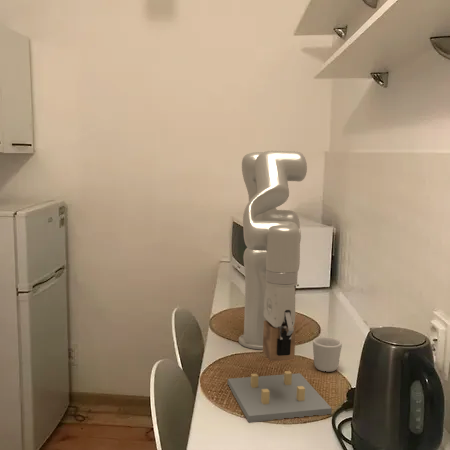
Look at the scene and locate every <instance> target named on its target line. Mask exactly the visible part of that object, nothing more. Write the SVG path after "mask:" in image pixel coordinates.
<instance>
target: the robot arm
mask: <svg viewBox="0 0 450 450" xmlns="http://www.w3.org/2000/svg"><path fill="white" fill-rule="evenodd" d="M241 159H242V161H241V173H242V178H243V181H244V185H245V189H246V190H247V195H248V203H247V204H246V206H245V207H244V212H243V216H242V227H243V231H242V232H243V240H244V244H245V246H246V248H245V250H244V251H243V255H242V258H243V259H242V260H243V266H244V267H243V269H244V278H245V279H244V283H245V287H244V288H245V289H244V290H245V291H244V315H243V316H244V321H243V334H241V335H240V336H239V337H238V343H239V344H240V345H241V346H243V347H245V348H249V349H253V350H263V330H264V321H268V322H269V323H270V324H271V325H272V326H274V327H275V328H279V329H278V333H279V339H277V355H278V356H283V355H290V348H291V335H292V332H293V331H294V328H293V326H295V321H296V294H295V292H296V291H295V285H296V286H297V285H298V274H299V273H298V272H299V269H300V265H301V261H300V260H301V259H300V258H301V240H302V230H301V223H300V218H299V216H298V213H296V212H295V211H293V210H287V209H286V210H285V209H277V208H278V207H280V206H282V205H283V204H285V203H287V201H288V199H289V197H290V189H289V188H290V187H289V182H302V181H304V180H305V178H306V176H307V172H308V165H307V160H306V156H305V155H304V154H303V153H302V152H300V151H295V150H293V151H292V150H291V151H290V150H287V151H286V150H267V151H260V152H259V151H257V152H256V151H255V152H249V153H246V154H245V155H244V156H243V157H242V158H241ZM282 324H286V326H281V325H282ZM282 329H286V330H285V331H283V333H282Z"/></svg>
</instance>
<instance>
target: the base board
mask: <svg viewBox="0 0 450 450" xmlns="http://www.w3.org/2000/svg"><path fill="white" fill-rule="evenodd" d="M228 385H229V386H228ZM227 386H228V387H230V388H229V389H231V390H230V392H231V393H232V394H233V397H234V399H235V398H236V399H235V401H236V402H237V404H238V405H239V407H240V410H241V411H242V413H243V415H244V416H245V418H246V420H247V422H248V423H256V422H266V421H267V422H268V421H274V420H273V419H278V420H285V419H284V418H289V419H295V418H294V417H299V418H305V417H304V416H309V417H314V416H313V415H319V416H327V414H330V415H332V412H333V411H332V410H333V408H332V407H331V406H330V405H329V403H328V402H327V401H326V400H325V399H324V398H323V397H322V395H320V394H319V392H318V391H317V390H316V389H315V387H313V386H312V385H311V384H310V383H309V382H308V380H307V379H306V377H304V376H303V374H302V373H300V372H298V373H293V372H291V371H290V370H287V371H284V373H283V374H274V375H270V374H269V375H261V376H259V375H258V373H251V374H250V376H246V377H232V378H227Z"/></svg>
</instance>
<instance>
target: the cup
mask: <svg viewBox="0 0 450 450" xmlns="http://www.w3.org/2000/svg"><path fill="white" fill-rule="evenodd" d="M342 345H343V343H342V341H341V340H339V338H335V337H331V336H318V337H317V336H316V338H314V339H313V340H312V350H313V364H314V367H315V369H317V370H318V371H322V372H325V371H326V372H328V373H329V372H331V373H332V372H334V371H336V370H337V369H338V367H339V363H340V358H341V351H342Z"/></svg>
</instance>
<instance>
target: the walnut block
mask: <svg viewBox="0 0 450 450" xmlns="http://www.w3.org/2000/svg"><path fill="white" fill-rule="evenodd" d="M281 326H286V324H282V325H281ZM293 328H294V331H293V332H292V335H291V348H290V355H283V356H278V355H277V339H279V333H278V329H279V328H275V327H274V326H272V325H271V324H270V323H269V322H268V321H264V330H263V349H262V353H263V354H264V355H265V357H266V358H267V359H268V360H269V362H278V361H290V360H291V361H292V360H295V354H296V353H295V350H296V329H297V328H296V326H295V325H294V326H293ZM285 330H286V329H282V333H283V331H285Z"/></svg>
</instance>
